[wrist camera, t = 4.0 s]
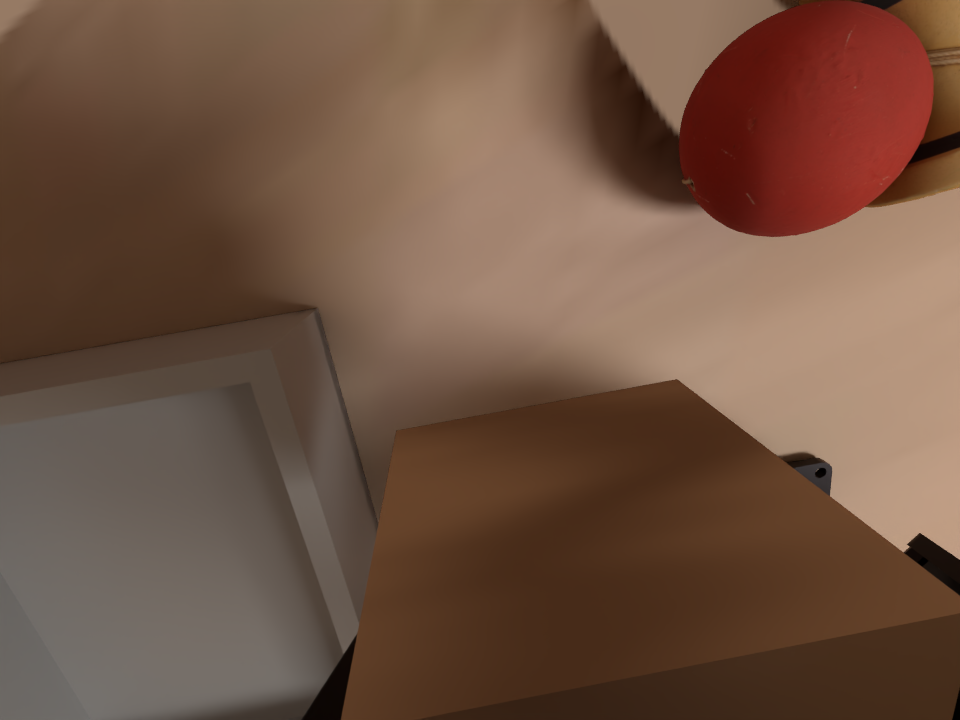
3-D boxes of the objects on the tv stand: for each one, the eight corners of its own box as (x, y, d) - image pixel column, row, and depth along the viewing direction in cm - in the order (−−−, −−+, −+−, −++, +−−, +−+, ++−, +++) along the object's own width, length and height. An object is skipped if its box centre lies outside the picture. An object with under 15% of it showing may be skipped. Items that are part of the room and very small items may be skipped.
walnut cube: (677, 379, 8) (979, 609, 4) (683, 597, 10) (898, 952, 5) (396, 430, 8) (338, 734, 4) (449, 642, 10) (455, 1042, 5)
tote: (317, 307, 17) (270, 348, 13) (425, 692, 24) (420, 816, 19) (-119, 384, 17) (-335, 455, 12) (109, 752, 23) (24, 893, 19)
